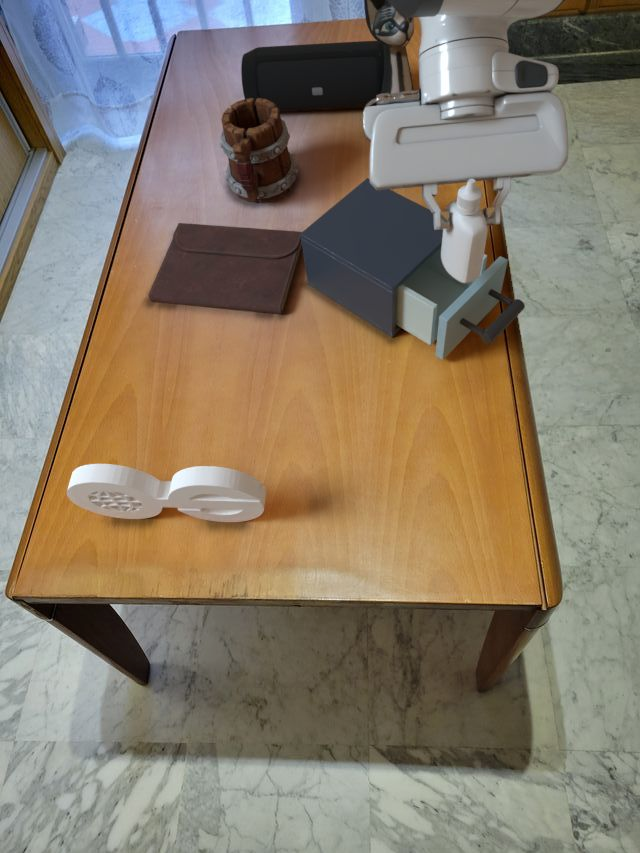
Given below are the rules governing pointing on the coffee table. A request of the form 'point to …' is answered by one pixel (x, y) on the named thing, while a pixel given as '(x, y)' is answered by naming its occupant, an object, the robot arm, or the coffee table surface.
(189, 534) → the coffee table surface
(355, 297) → the cabinet
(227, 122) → the mug
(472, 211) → the eye dropper bottle
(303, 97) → the portable speaker
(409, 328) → the drawer
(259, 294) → the brown leather sleeve case
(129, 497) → the white double disc plate
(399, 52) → the figurine
